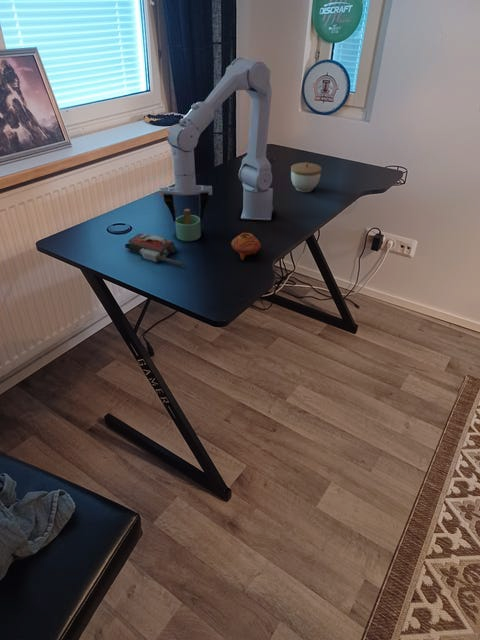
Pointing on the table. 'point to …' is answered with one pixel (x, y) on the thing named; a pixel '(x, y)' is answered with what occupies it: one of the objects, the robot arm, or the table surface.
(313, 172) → the trinket box
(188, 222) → the rubber stamp
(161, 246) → the red grey blocky piece
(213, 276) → the table surface
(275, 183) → the table surface
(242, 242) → the pot
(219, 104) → the robot arm
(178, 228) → the bucket
